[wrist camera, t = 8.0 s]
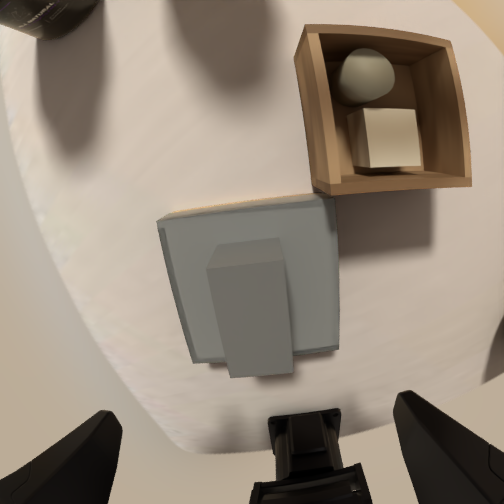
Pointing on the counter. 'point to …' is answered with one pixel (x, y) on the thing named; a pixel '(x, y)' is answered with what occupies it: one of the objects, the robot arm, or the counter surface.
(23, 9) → the supplement bottle
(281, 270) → the lid
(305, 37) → the storage box
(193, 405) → the counter surface
